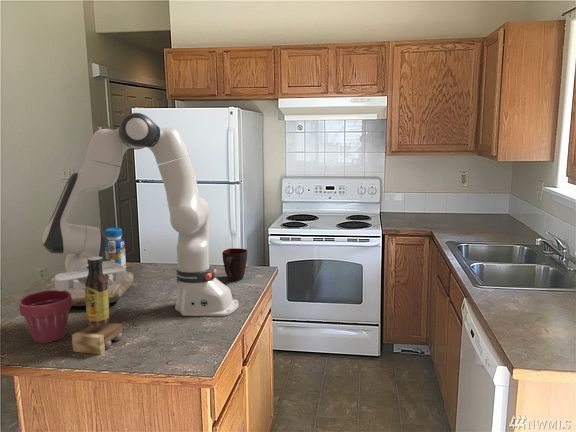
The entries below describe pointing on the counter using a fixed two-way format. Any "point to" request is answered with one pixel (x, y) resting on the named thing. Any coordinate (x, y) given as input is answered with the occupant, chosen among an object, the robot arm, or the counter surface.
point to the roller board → (96, 338)
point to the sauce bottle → (96, 293)
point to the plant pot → (46, 314)
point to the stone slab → (113, 291)
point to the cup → (235, 263)
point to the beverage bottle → (115, 246)
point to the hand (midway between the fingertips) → (96, 284)
